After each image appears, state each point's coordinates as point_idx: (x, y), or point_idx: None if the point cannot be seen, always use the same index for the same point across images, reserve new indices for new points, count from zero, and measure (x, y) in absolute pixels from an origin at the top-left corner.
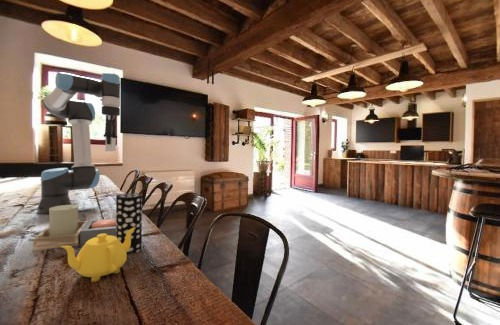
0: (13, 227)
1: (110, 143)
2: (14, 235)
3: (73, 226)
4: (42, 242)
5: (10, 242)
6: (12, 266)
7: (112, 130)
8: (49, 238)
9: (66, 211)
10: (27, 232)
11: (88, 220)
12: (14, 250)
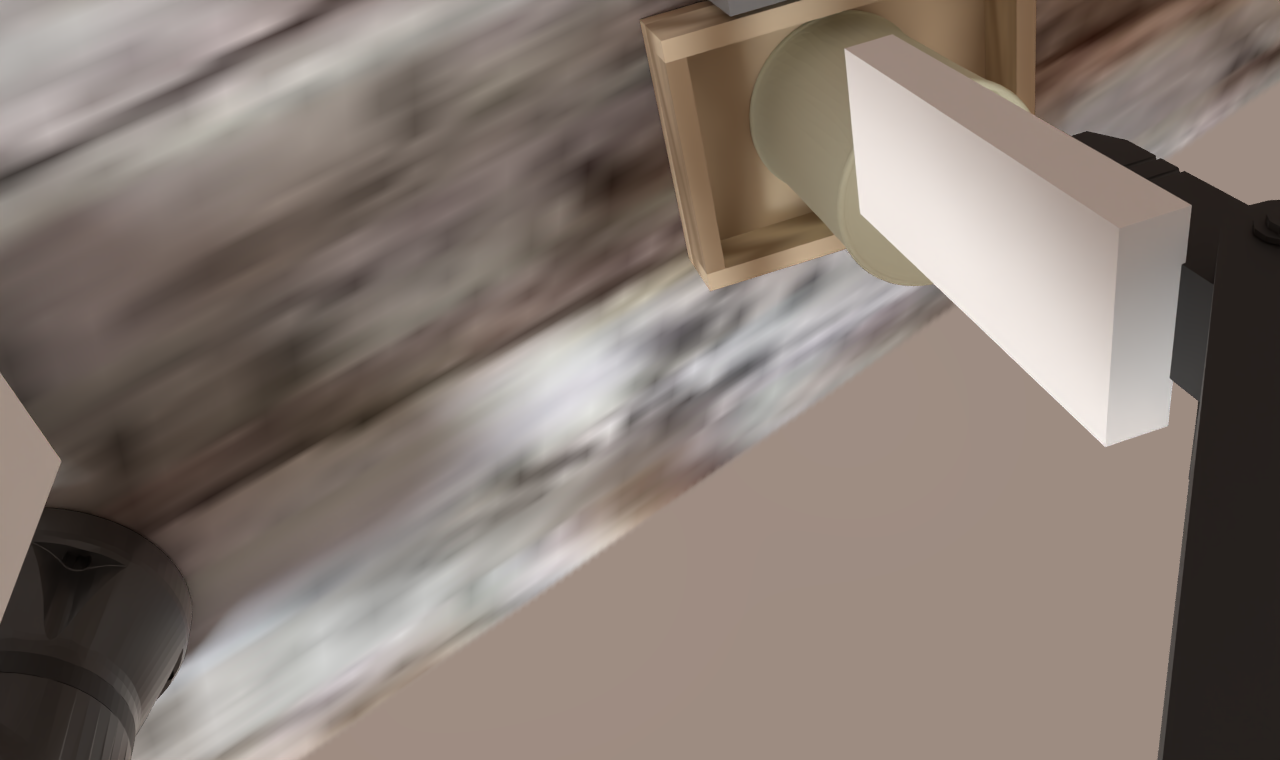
0: (541, 551)
1: (1086, 142)
2: (704, 436)
3: (915, 41)
4: None
5: (826, 370)
6: (1178, 123)
7: (1235, 490)
8: (1031, 105)
9: None
10: (655, 408)
11: (734, 11)
12: None
